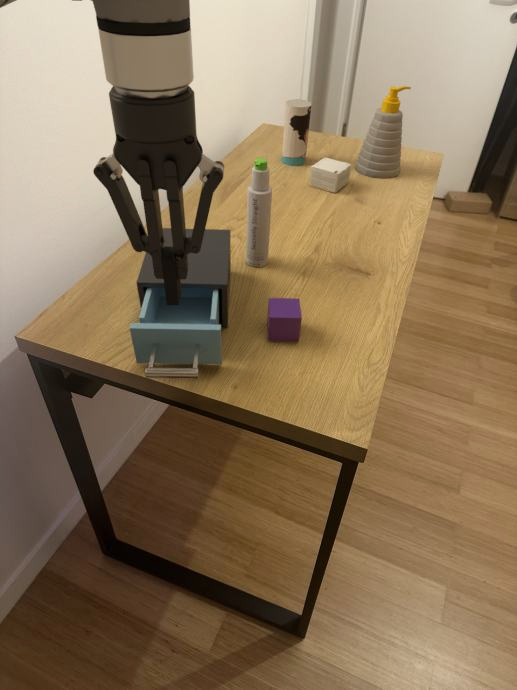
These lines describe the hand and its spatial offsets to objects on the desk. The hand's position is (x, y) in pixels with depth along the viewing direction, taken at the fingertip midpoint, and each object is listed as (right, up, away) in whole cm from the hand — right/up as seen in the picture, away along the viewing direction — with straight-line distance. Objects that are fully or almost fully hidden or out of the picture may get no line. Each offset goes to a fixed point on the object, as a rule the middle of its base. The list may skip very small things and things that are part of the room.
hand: (174, 298), depth 57 cm
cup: (+20, +46, +73) cm, 89 cm away
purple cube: (+14, -4, +19) cm, 24 cm away
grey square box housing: (-2, +3, +25) cm, 26 cm away
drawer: (-1, -5, +15) cm, 16 cm away
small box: (+29, +36, +63) cm, 77 cm away
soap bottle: (+43, +43, +71) cm, 94 cm away
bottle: (+10, +11, +35) cm, 38 cm away
